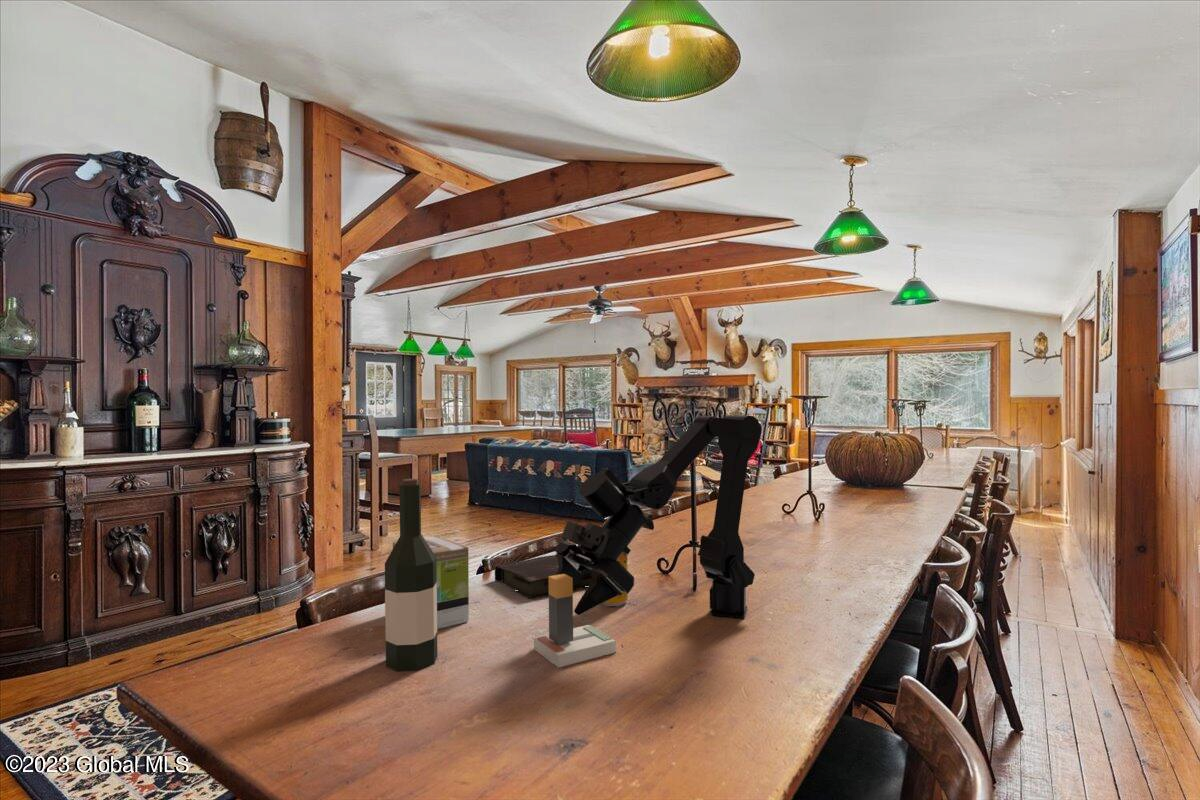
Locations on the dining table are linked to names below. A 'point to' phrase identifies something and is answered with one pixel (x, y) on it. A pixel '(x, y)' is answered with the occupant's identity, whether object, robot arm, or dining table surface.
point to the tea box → (450, 581)
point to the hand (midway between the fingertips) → (562, 605)
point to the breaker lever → (560, 608)
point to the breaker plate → (576, 646)
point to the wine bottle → (410, 590)
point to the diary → (534, 576)
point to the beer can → (624, 597)
